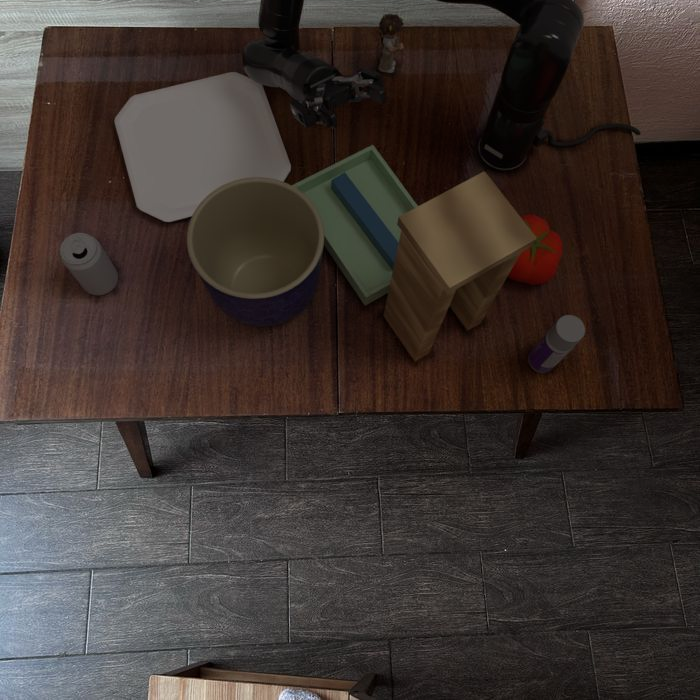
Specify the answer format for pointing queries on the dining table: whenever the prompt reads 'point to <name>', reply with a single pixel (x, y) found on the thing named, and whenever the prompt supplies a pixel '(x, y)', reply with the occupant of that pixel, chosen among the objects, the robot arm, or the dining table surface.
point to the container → (556, 343)
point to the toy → (389, 40)
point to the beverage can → (89, 263)
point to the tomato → (538, 254)
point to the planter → (257, 249)
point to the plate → (197, 142)
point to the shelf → (452, 260)
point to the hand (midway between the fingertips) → (359, 109)
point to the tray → (342, 230)
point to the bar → (365, 217)
